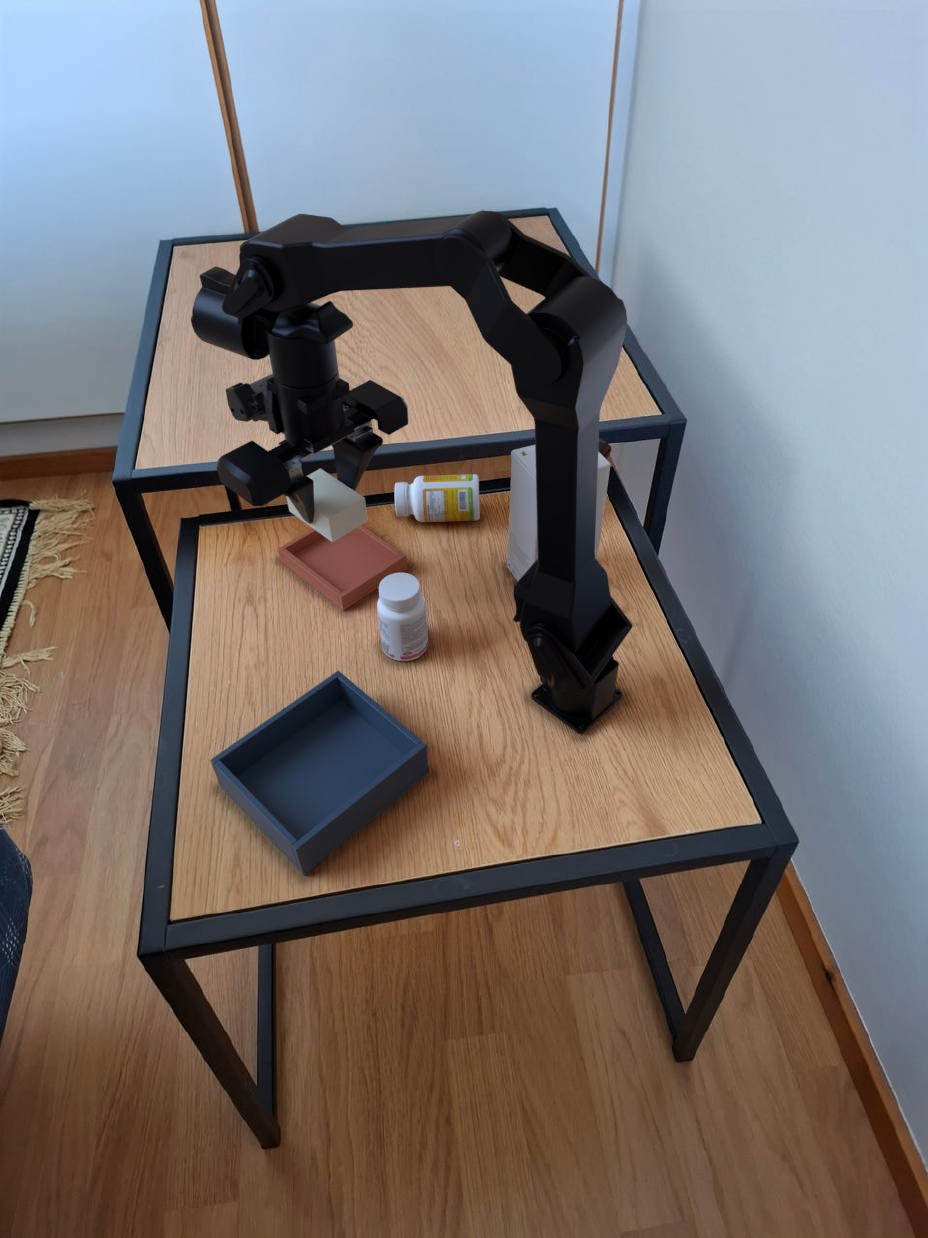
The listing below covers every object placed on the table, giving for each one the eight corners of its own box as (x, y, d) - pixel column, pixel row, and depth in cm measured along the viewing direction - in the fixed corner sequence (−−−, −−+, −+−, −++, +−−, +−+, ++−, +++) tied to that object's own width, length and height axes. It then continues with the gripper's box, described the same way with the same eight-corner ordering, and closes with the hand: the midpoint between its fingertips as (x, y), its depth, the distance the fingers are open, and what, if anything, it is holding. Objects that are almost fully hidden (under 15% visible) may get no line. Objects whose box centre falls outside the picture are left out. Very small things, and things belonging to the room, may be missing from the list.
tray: (407, 569, 98) (406, 555, 96) (343, 611, 93) (341, 597, 92) (343, 523, 103) (341, 510, 102) (280, 561, 99) (277, 548, 97)
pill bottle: (433, 632, 91) (429, 573, 85) (421, 666, 88) (417, 607, 82) (389, 625, 92) (382, 566, 86) (376, 658, 88) (368, 599, 82)
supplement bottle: (479, 491, 105) (399, 493, 106) (478, 464, 101) (394, 466, 101) (480, 529, 103) (398, 531, 103) (479, 503, 98) (393, 506, 98)
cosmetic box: (530, 602, 94) (537, 486, 82) (503, 565, 98) (506, 449, 87) (598, 580, 96) (614, 463, 85) (569, 544, 100) (580, 428, 89)
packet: (368, 521, 88) (365, 497, 86) (332, 543, 86) (328, 519, 84) (324, 491, 91) (320, 468, 89) (289, 511, 89) (284, 488, 87)
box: (429, 773, 79) (427, 744, 76) (304, 876, 72) (296, 850, 69) (343, 698, 85) (338, 669, 82) (220, 787, 78) (209, 759, 75)
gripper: (330, 305, 85) (347, 439, 97) (163, 378, 76) (204, 517, 87) (407, 344, 80) (416, 482, 91) (238, 429, 71) (271, 570, 82)
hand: (327, 510), depth 88 cm, fingers closed on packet, 4 cm apart
